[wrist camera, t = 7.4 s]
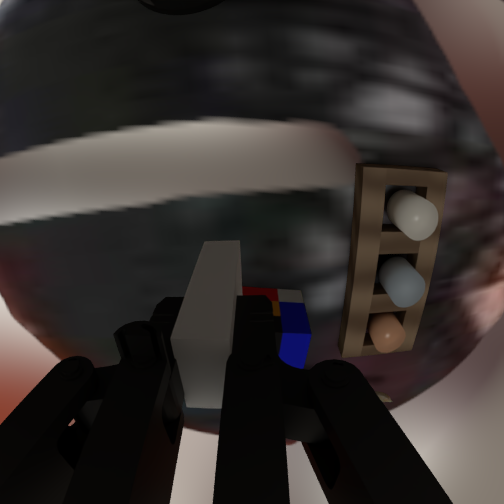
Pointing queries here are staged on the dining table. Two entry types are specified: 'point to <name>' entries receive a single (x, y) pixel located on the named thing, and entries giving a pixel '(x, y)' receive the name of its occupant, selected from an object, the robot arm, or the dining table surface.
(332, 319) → the dining table surface
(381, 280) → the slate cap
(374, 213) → the button board
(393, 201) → the offwhite cap
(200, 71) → the dining table surface
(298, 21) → the dining table surface
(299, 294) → the puzzle toy
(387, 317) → the terracotta cap
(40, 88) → the dining table surface
